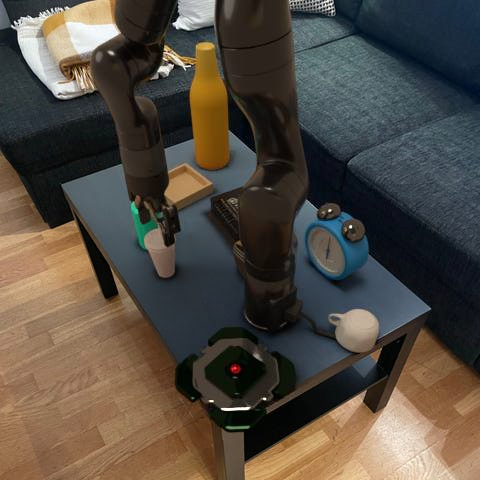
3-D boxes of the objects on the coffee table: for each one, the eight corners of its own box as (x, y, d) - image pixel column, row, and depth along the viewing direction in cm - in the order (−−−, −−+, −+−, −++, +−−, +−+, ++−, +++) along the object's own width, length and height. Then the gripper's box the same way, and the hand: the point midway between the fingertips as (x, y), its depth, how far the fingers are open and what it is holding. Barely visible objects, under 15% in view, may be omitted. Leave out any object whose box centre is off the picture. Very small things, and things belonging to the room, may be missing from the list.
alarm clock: (300, 257, 105) (307, 203, 93) (321, 245, 107) (330, 191, 95) (342, 292, 99) (355, 239, 87) (363, 279, 101) (378, 225, 89)
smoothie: (176, 284, 101) (167, 234, 90) (147, 280, 102) (135, 230, 91) (184, 263, 105) (176, 213, 94) (156, 259, 105) (145, 209, 94)
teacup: (376, 342, 84) (367, 359, 88) (389, 314, 88) (380, 331, 93) (324, 318, 86) (318, 336, 91) (339, 292, 91) (333, 310, 95)
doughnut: (231, 266, 104) (230, 231, 96) (245, 259, 105) (245, 225, 97) (255, 293, 99) (255, 259, 91) (269, 286, 100) (271, 252, 92)
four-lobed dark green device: (232, 327, 94) (232, 312, 90) (304, 378, 86) (308, 364, 83) (165, 383, 85) (162, 369, 82) (239, 446, 78) (240, 433, 74)
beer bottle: (204, 174, 124) (194, 59, 101) (190, 156, 129) (177, 42, 107) (235, 164, 127) (233, 49, 104) (220, 147, 132) (214, 34, 109)
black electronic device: (204, 212, 115) (198, 149, 101) (254, 195, 119) (255, 131, 105) (244, 264, 104) (243, 201, 91) (297, 243, 108) (304, 179, 94)
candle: (151, 229, 112) (142, 186, 102) (170, 239, 109) (163, 196, 100) (134, 243, 109) (123, 201, 99) (153, 254, 106) (144, 211, 97)
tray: (213, 192, 120) (212, 183, 118) (175, 211, 115) (174, 202, 113) (186, 171, 125) (185, 162, 123) (149, 189, 121) (148, 180, 119)
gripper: (104, 152, 84) (122, 223, 96) (148, 191, 77) (162, 261, 90) (140, 137, 86) (153, 207, 99) (186, 173, 80) (194, 243, 93)
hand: (157, 233), depth 94 cm, fingers open, 8 cm apart
